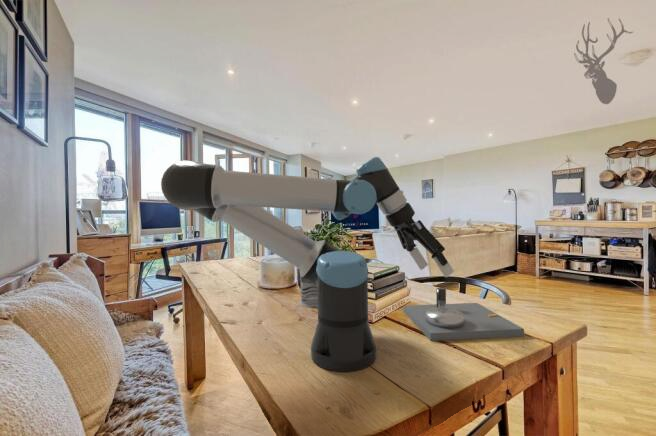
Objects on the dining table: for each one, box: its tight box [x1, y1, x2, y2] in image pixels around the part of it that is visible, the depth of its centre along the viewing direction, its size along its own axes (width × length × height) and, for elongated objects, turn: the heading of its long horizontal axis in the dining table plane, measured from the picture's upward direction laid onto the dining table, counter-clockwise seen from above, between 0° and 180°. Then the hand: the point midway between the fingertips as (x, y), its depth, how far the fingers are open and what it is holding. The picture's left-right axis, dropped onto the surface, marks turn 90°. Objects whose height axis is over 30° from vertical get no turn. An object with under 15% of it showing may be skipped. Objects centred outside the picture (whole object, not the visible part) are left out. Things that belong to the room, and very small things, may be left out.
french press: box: [297, 234, 318, 308], centre depth 110 cm, size 10×12×25 cm
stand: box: [402, 302, 525, 342], centre depth 89 cm, size 25×22×2 cm
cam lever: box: [426, 287, 464, 329], centre depth 89 cm, size 18×10×6 cm, turn 164°
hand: (436, 270), depth 86 cm, fingers open, 13 cm apart
